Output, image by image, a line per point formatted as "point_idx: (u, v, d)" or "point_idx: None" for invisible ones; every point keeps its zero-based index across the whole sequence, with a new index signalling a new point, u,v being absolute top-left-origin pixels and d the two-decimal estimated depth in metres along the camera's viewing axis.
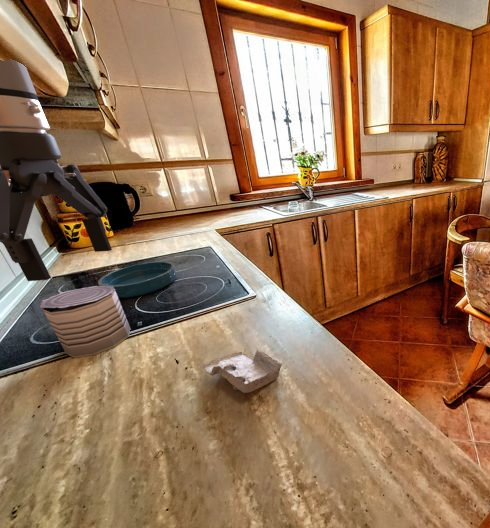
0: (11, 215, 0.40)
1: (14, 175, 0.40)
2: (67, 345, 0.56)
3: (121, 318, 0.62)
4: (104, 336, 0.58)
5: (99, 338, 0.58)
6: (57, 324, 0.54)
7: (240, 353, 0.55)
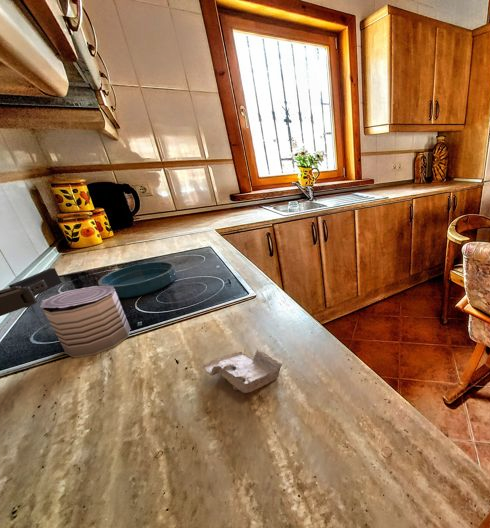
0: None
1: None
2: (67, 345, 0.56)
3: (121, 318, 0.62)
4: (104, 336, 0.58)
5: (99, 338, 0.58)
6: (57, 324, 0.54)
7: (240, 353, 0.55)
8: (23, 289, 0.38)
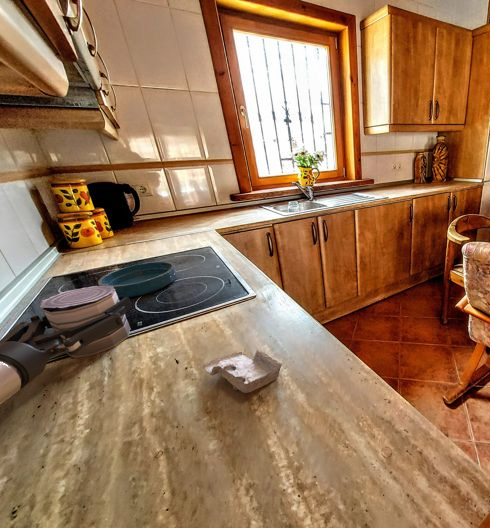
0: None
1: None
2: None
3: (121, 318, 0.62)
4: (104, 336, 0.58)
5: (99, 338, 0.57)
6: (57, 324, 0.54)
7: (240, 353, 0.55)
8: (116, 315, 0.56)
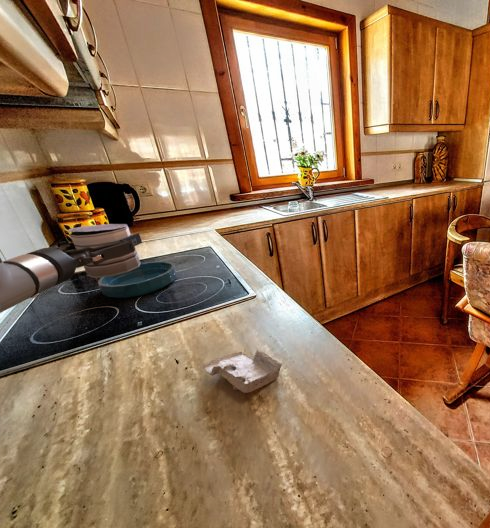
0: None
1: None
2: (89, 266, 0.68)
3: None
4: (119, 261, 0.70)
5: (115, 262, 0.69)
6: (82, 246, 0.66)
7: (240, 353, 0.55)
8: (130, 241, 0.67)
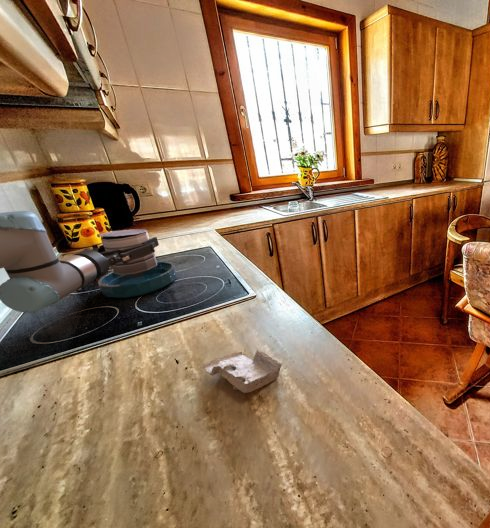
0: None
1: None
2: (116, 265, 0.81)
3: None
4: (141, 261, 0.83)
5: (138, 261, 0.82)
6: (111, 249, 0.79)
7: (240, 353, 0.55)
8: (150, 244, 0.81)
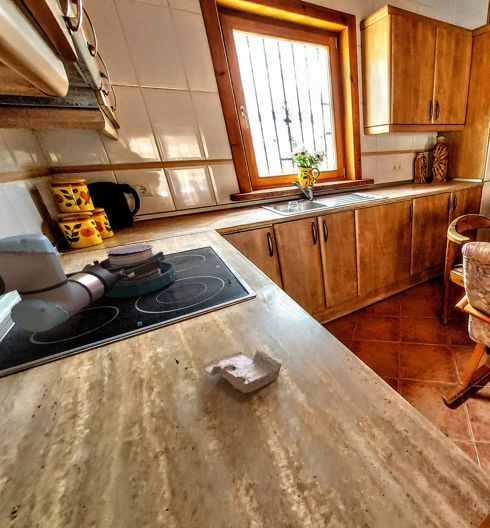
0: None
1: None
2: (123, 281, 0.83)
3: None
4: (146, 276, 0.85)
5: (143, 277, 0.84)
6: (117, 265, 0.81)
7: (240, 353, 0.55)
8: (157, 260, 0.82)
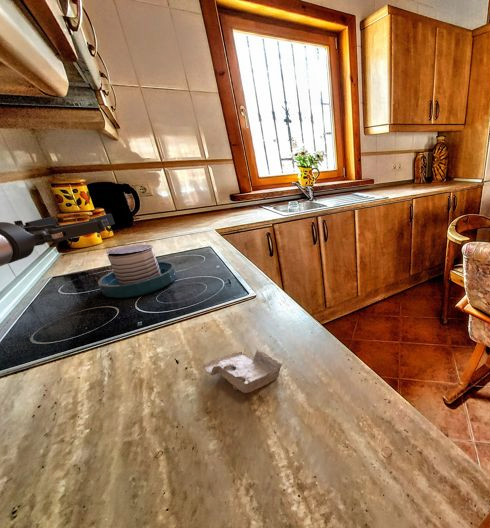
0: None
1: None
2: (123, 281, 0.83)
3: (157, 266, 0.88)
4: (146, 276, 0.85)
5: (143, 277, 0.84)
6: (117, 265, 0.81)
7: (240, 353, 0.55)
8: (99, 220, 0.63)
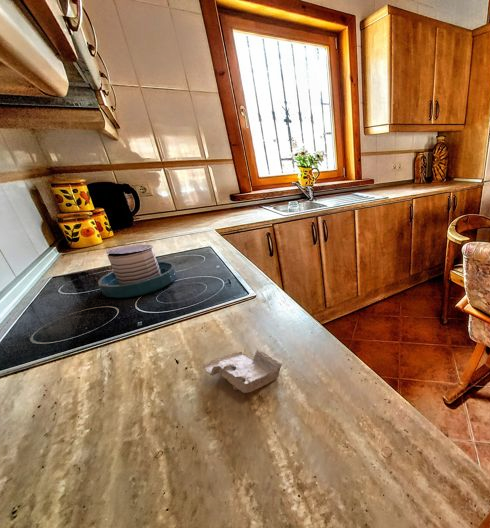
0: None
1: None
2: (123, 281, 0.83)
3: (157, 266, 0.88)
4: (146, 276, 0.85)
5: (143, 277, 0.84)
6: (117, 265, 0.81)
7: (240, 353, 0.55)
8: None
